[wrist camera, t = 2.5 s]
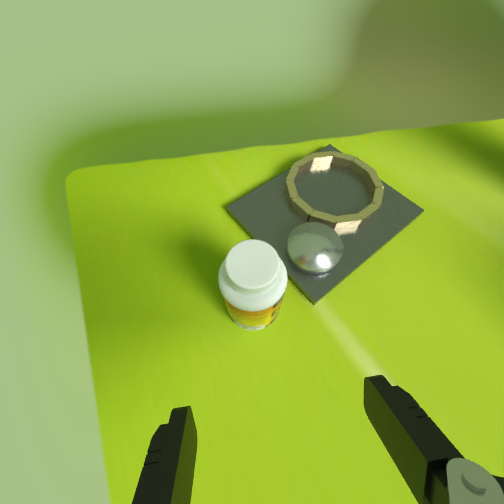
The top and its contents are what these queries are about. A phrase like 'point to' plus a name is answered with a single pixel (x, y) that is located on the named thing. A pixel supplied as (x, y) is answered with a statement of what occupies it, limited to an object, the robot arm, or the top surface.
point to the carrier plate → (324, 218)
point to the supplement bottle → (252, 283)
